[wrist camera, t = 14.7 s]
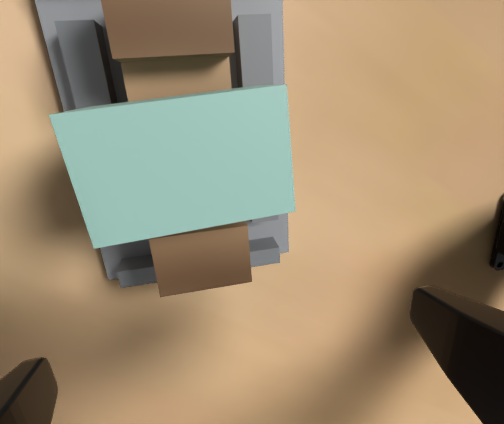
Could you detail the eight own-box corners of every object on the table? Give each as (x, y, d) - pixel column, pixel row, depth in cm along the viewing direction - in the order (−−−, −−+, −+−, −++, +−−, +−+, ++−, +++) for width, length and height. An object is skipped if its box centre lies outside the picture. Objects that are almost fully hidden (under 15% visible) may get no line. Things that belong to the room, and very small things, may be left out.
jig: (30, -47, 14) (0, -73, 12) (275, -48, 16) (291, -70, 14) (111, 271, 20) (102, 294, 18) (284, 245, 22) (296, 263, 19)
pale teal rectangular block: (257, 85, 13) (286, 84, 9) (267, 180, 15) (295, 211, 11) (88, 106, 12) (48, 114, 9) (117, 205, 14) (93, 248, 10)
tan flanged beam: (123, 1, 15) (91, -45, 10) (212, -2, 15) (227, -46, 10) (166, 241, 19) (160, 297, 14) (234, 231, 20) (252, 281, 15)
